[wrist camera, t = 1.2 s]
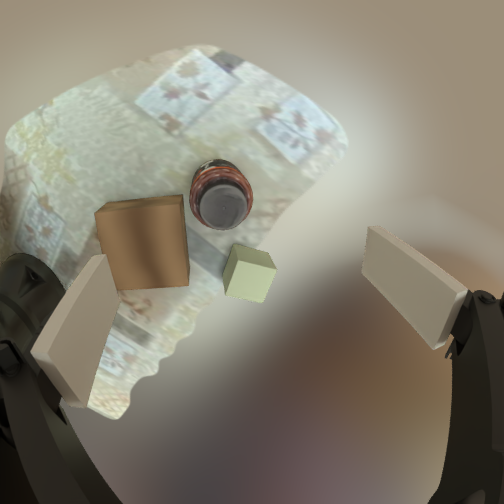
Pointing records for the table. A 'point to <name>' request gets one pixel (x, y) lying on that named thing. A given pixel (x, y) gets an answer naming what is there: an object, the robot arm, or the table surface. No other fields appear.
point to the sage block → (248, 274)
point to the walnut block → (145, 242)
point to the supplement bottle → (220, 195)
